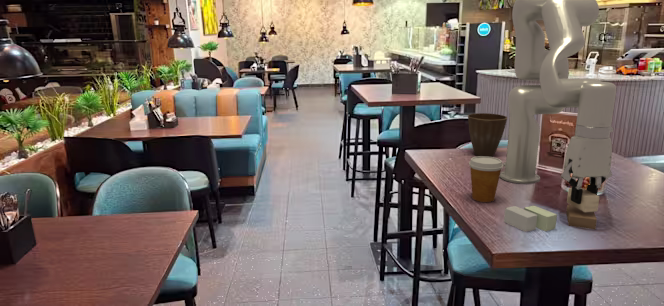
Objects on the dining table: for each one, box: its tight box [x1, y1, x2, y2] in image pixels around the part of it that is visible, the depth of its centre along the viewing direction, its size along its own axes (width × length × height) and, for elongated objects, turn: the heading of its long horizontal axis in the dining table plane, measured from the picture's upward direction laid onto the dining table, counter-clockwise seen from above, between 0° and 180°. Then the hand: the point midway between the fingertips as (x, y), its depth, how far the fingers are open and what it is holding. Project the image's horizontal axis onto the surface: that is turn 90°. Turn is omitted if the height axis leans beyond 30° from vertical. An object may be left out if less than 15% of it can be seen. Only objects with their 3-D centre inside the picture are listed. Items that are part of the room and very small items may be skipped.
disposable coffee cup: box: [468, 156, 504, 203], centre depth 132 cm, size 10×10×12 cm
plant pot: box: [467, 112, 508, 157], centre depth 180 cm, size 15×15×16 cm
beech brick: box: [566, 187, 600, 213], centre depth 115 cm, size 7×4×4 cm, turn 8°
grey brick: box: [503, 205, 537, 233], centre depth 113 cm, size 7×4×4 cm, turn 25°
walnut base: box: [565, 203, 598, 231], centre depth 116 cm, size 9×6×3 cm, turn 156°
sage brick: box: [524, 205, 558, 232], centre depth 114 cm, size 7×4×4 cm, turn 26°
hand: (583, 201), depth 115 cm, fingers closed on beech brick, 3 cm apart
